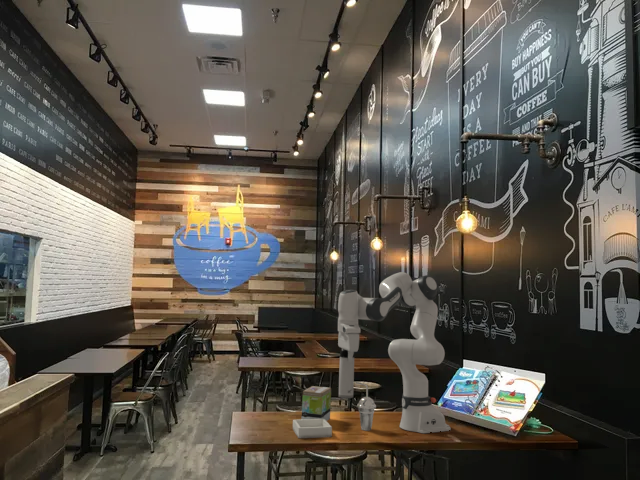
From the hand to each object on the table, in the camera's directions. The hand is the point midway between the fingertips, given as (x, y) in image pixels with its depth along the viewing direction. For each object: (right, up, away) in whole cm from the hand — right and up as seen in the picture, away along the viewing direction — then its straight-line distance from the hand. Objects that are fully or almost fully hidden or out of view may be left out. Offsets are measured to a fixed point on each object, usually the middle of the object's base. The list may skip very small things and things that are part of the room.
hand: (347, 360), depth 217 cm
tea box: (-14, -33, +17) cm, 40 cm away
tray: (-15, -30, -2) cm, 34 cm away
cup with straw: (+8, -32, +6) cm, 34 cm away
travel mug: (-1, -16, -2) cm, 16 cm away
